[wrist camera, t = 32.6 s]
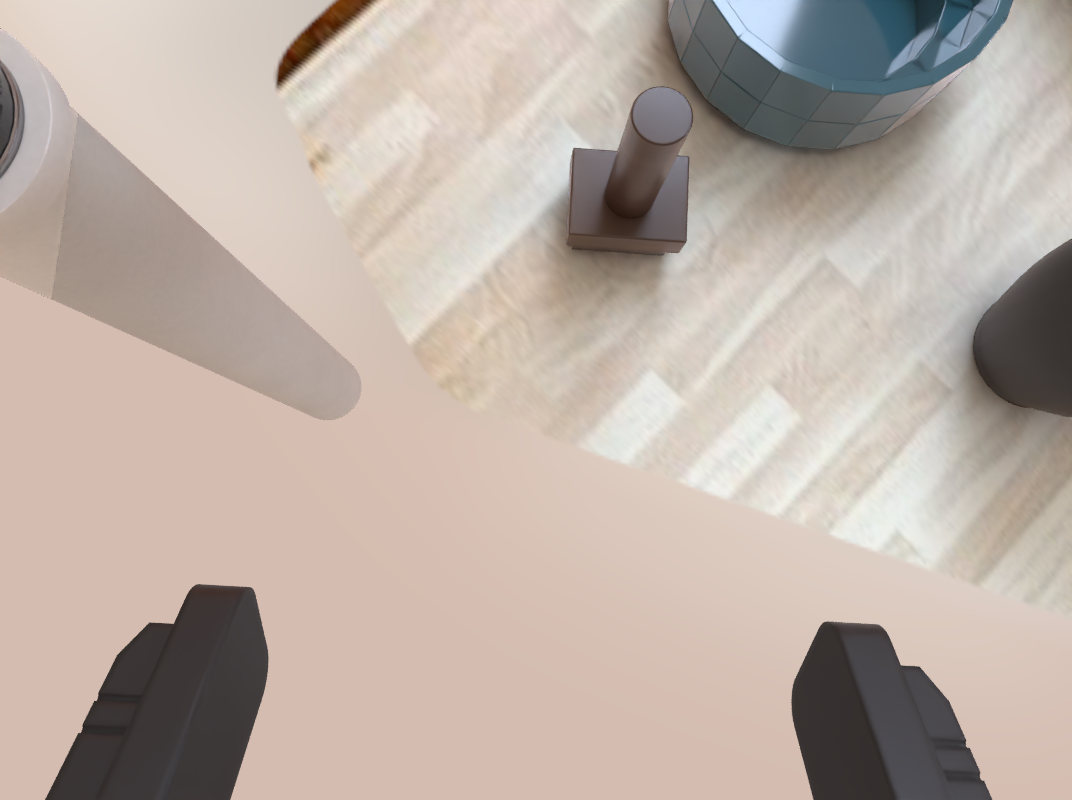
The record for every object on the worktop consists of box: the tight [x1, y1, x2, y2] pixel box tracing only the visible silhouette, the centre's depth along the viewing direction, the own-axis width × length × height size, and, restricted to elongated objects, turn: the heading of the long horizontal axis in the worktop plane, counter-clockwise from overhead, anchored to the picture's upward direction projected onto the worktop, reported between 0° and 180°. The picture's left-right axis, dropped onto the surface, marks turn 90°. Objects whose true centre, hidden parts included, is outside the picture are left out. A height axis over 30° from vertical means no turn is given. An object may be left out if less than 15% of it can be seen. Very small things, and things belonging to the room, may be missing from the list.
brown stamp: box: [566, 87, 693, 255], centre depth 33 cm, size 5×4×10 cm
